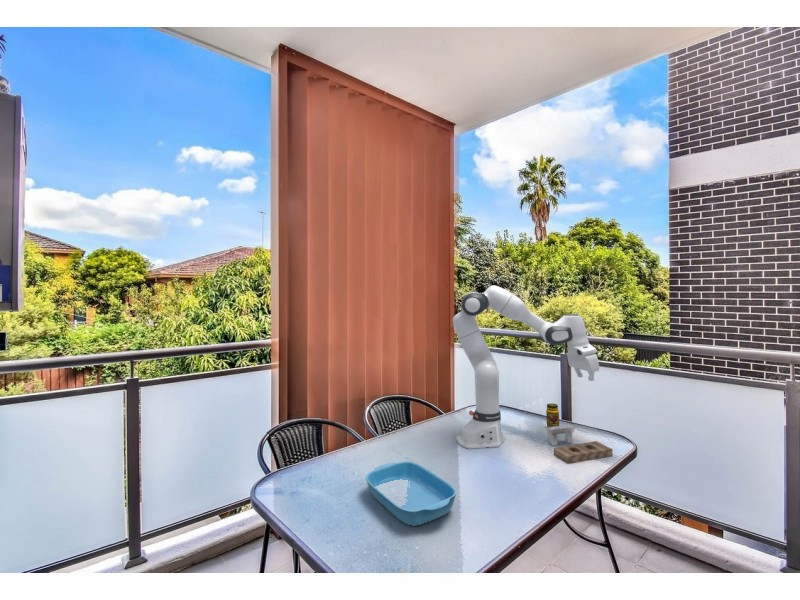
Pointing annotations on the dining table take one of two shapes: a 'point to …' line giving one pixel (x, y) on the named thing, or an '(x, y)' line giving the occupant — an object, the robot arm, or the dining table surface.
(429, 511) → the casserole dish
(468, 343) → the robot arm
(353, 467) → the dining table surface
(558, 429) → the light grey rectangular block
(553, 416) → the condiment
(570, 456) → the brown wooden block
